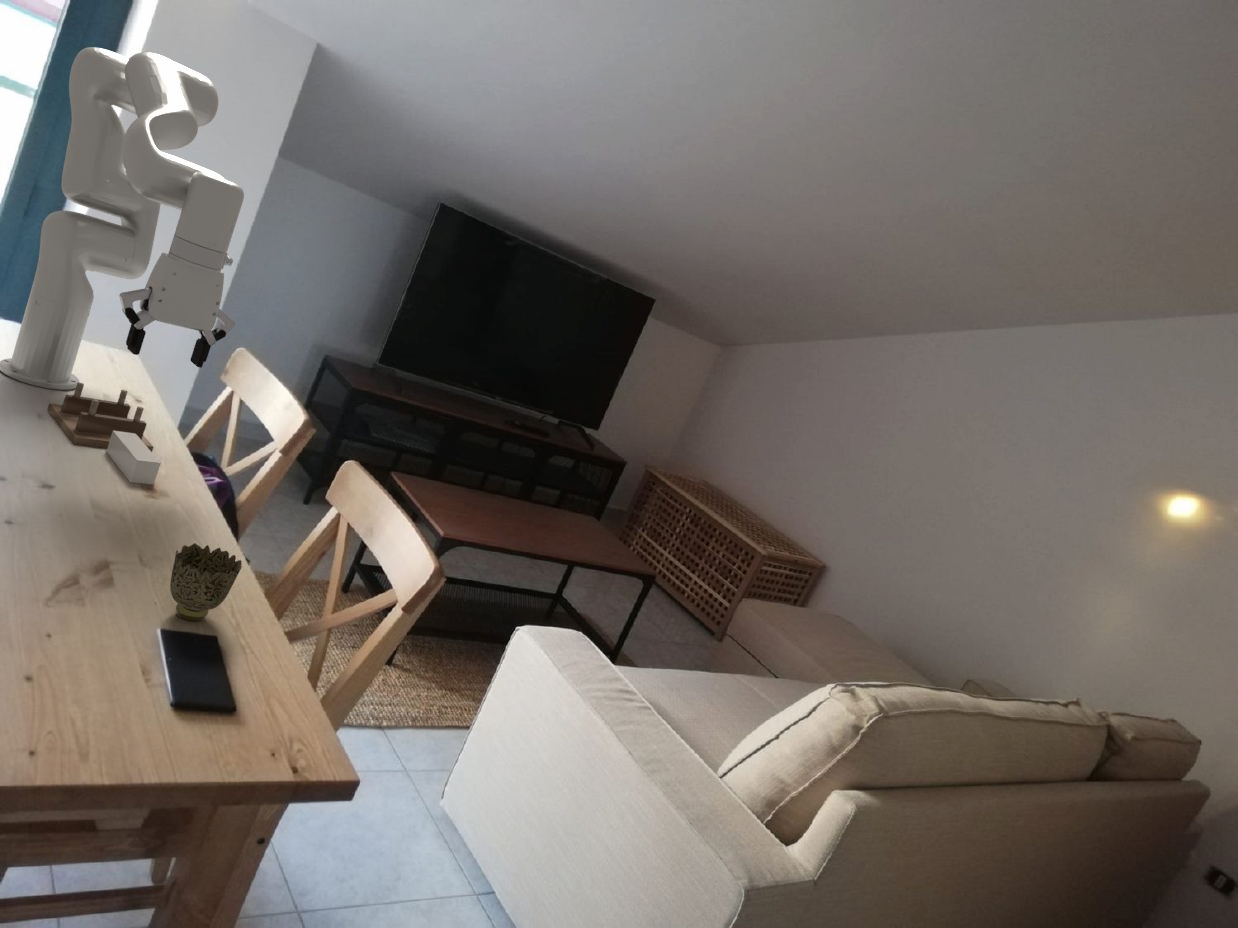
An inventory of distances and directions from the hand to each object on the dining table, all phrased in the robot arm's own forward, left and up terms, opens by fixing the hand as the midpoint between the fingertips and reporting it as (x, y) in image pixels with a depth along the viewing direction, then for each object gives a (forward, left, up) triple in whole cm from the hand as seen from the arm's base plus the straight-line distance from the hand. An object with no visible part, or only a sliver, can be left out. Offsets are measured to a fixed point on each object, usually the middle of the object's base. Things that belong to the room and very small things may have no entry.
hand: (165, 358), depth 135 cm
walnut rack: (-15, 0, -19) cm, 24 cm away
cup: (+46, -8, -19) cm, 50 cm away
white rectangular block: (0, 0, -19) cm, 19 cm away
